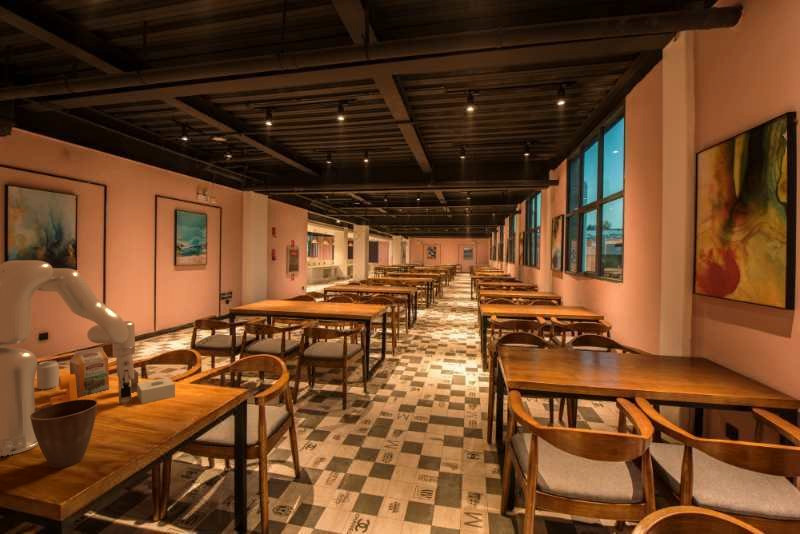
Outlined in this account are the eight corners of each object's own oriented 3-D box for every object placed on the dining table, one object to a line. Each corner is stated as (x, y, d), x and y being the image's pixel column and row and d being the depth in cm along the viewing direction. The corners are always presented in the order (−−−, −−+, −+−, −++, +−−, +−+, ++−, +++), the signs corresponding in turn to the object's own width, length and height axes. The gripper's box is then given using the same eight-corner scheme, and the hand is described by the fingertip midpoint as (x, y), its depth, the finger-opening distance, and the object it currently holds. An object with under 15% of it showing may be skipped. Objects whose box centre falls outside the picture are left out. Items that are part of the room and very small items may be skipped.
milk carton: (80, 397, 165) (79, 353, 165) (70, 392, 171) (69, 350, 170) (109, 390, 174) (108, 348, 174) (98, 385, 180) (97, 345, 179)
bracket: (50, 404, 158) (49, 375, 157) (72, 399, 163) (72, 371, 163) (53, 411, 150) (53, 381, 150) (77, 405, 156) (77, 376, 155)
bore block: (175, 396, 166) (174, 384, 166) (141, 403, 158) (141, 390, 158) (169, 389, 175) (168, 377, 175) (137, 395, 167) (137, 383, 167)
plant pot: (18, 480, 104) (16, 422, 104) (51, 452, 119) (49, 401, 118) (83, 471, 108) (82, 415, 108) (107, 446, 123) (106, 396, 122)
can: (41, 386, 179) (40, 360, 179) (61, 384, 182) (61, 359, 182) (34, 391, 172) (33, 365, 172) (55, 389, 175) (54, 363, 175)
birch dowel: (132, 402, 159) (131, 374, 158) (119, 405, 156) (118, 376, 156) (130, 400, 162) (130, 371, 162) (118, 402, 159) (117, 374, 159)
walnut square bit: (138, 391, 172) (138, 371, 172) (124, 395, 168) (123, 374, 167) (134, 389, 175) (133, 369, 175) (119, 392, 171) (119, 372, 171)
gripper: (138, 353, 154) (139, 398, 155) (132, 346, 167) (132, 387, 168) (115, 357, 149) (116, 403, 150) (110, 349, 162) (111, 391, 163)
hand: (125, 394), depth 159 cm, fingers open, 5 cm apart
